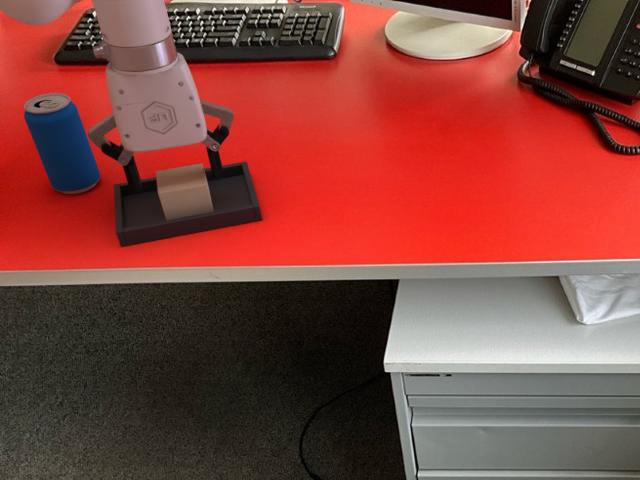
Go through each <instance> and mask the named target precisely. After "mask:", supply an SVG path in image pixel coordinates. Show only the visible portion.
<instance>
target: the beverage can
mask: <svg viewBox="0 0 640 480" xmlns="http://www.w3.org/2000/svg"><path fill="white" fill-rule="evenodd" d="M23 108H24V113H23V117H24V118H23V119H24V121H25V123H26V126H27V128H28V131H29V134H30V136H31V139H32V141H33V143H34V147H35V148H36V151H37V154H38V156H39V158H40V161H41V164H42V166H43V168H44V169H43V170H44V171H45V173H46V176H47V179H48V181H49V183H50V187H51V188H52V189H53V190H55V191H57V192H61V193H63V194H66V195H76V194H81V193H85V192H88V191H89V190H92V189H93V188H94V187H95V186H96V185H97V183H98V182H99V181H100V179H101V177H102V176H101V172H100V168H99V166H98V163H97V160H96V157H95V154H94V152H93V149H92V147H91V143H90V140H89V138H88V134H87V132H86V129H85V127H84V124H83V122H82V118H81V115H80V113H79V109H78V107H77V105H76V104H75V103H74V102H73V101H72V100H71V97H70V96H69V95H68V94H65V93H59V92H50V93H44V94H39V95H36V96H34V97H31V98H29V99H28V100H27V101H26V102H24V104H23Z"/></svg>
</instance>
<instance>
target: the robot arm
mask: <svg viewBox="0 0 640 480" xmlns="http://www.w3.org/2000/svg"><path fill="white" fill-rule="evenodd" d="M82 1H83V0H0V12H2V14H5V15H6V16H7V17H9V18H11V19H13V20H15V21H17V22H19V23H20V24H21V23H22V24H25V25H28V26H44V25H49V24H51V23H53V22H55V21H57V20H58V19H59V18H60V17H62V16H63V15H64V14H66V13H67V12H68V11H69V10H70V9H71V8H72V7H74V6H75V5H76V4H77V3H80V2H82ZM91 2H92V5H93V10H94V12H95V16H96V19H97V22H98V25H99V29H100V32H101V36H102V39H103V40H102V41H101V44H98V45H95V46H92V51H93V54H94V58H95V59H102V60H106V61H107V64H106V68H105V79H106V87H107V92H108V97H109V98H108V99H109V102H110V106H111V110H112V112H111V113H109V114H108V115H106V116H105V117H104V118H102V119H101V120H99V121H98V122H96V123H95V124H94V125H93V126H91V127H90V128H88V130H87V138H88V140H89V141H91V142H92V143H93V144H94V146H96V147H97V148H98V149H100V151H101V153H102V154H103V155H106V156H107V157H109V158H111V159H113V160H114V161H116V162H117V163H118V164H119V165H120V166H122V169H123V172H124V175H125V179H126V182H128V185H132V184H134V187H135V190H136V193H141V191H142V184H141V180H142V179H141V176H140V172H139V170H138V166H137V163H136V159H135V157H134V154H135V153H146V152H152V151H153V152H155V151H160V150H166V149H174V148H179V147H186V146H191V145H192V146H193V145H197V144H200V143H201V144H202V145H204V146H205V149H206V153H207V157H208V162H209V165H210V166H209V167H210V168H211V170H212V174H213V179H214V180H219V175H218V171H220V170H223V168H222V165H223V164H222V160H221V154H220V149H221V146H222V144H224V142H225V140H226V139H227V138H228V136H229V135H230V130H231V128H232V125H233V122H234V119H235V113H234V111H233V109H232V108H229V107H226V106H223V105H219V104H216V103H213V102H210V101H208V100H207V101H206V100H204V99H200V95H199V92H198V89H197V86H196V83H195V80H194V77H193V74H192V72H191V69H190V68H189V65H188V63H187V61H186V59H185V57H184V55H183V54H181V53H180V52H178V51H177V46H176V43H175V39H174V35H173V29H172V28H171V27H172V26H171V22H170V18H169V15H168V11H167V6H166V2H165V0H91ZM206 115H207V116H210V117H212V118H216V119H219V123H218V125H217V126H216V128H214V130H213V131H212V130H211V129H209V128H208V127H207V122H206V118H205V116H206ZM115 128H116V129H117V133H118V136H119V140H120V144H119V145H118V144H117V143H114V142H113V141H111V140H109V139H108V138H107V137H106V135H107V134H108V133H109V132H111V131H113V130H114V129H115Z"/></svg>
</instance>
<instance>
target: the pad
mask: <svg viewBox="0 0 640 480" xmlns="http://www.w3.org/2000/svg"><path fill="white" fill-rule="evenodd" d="M204 169H205V168H204V163H202V162H201V163H196V164H195V163H194V164H190V165H185V166H177V167H173V168H166V169H161V170H155V177H156V180H157V189H158V195H159V198H160V201H161V205H162V208H163V211H164V214H165V217H166V220H171V219H176V218H181V217H187V216H192V215H198V214H203V213H208V212H214V210H213V205H212V200H211V195H210V190H209V186H208V182H207V179H206V175H205V171H204Z"/></svg>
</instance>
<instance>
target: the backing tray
mask: <svg viewBox="0 0 640 480" xmlns="http://www.w3.org/2000/svg"><path fill="white" fill-rule="evenodd" d="M222 168H223V170H220V171H218V175H219V180H214V179H213V174H212V170H211V167H206V168H204V171H205V175H206V179H207V182H208V186H209V190H210V195H211V200H212V205H213V210H214V212H208V213H203V214H198V215H192V216H187V217H181V218H176V219H171V220H166V217H165V214H164V211H163V208H162V205H161V201H160V198H159V195H158V189H157V180H156V176H154V177H147V178H144V179H141V184H142V191H141V193H136V190H135V187H134V184H132V185H128V182H127V181H125V182H119V183H115V184H113V197H114V198H113V199H114V218H115V220H114V221H115V235H116V237H117V239H118V243H119V245H120V247H127V246H131V245H137V244H142V243H143V244H144V243H149V242H153V241H158V240H164V239H169V238H175V237H180V236H185V235H190V234H195V233H200V232H201V233H202V232H206V231H211V230H216V229H222V228H227V227H228V228H229V227H233V226H238V225H243V224H248V223H253V222H259V221H263V216H262V211H261V206H260V203H259V200H258V196H257V192H256V189H255V184H254V182H253V178H252V175H251V170H250V167H249V163H248V161H241V162H235V163H229V164H228V163H227V164H222Z"/></svg>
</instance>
